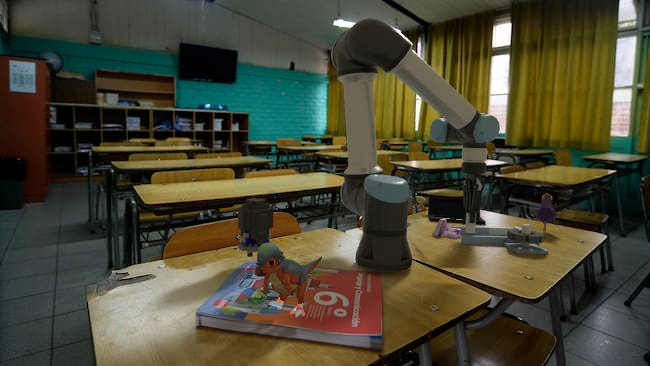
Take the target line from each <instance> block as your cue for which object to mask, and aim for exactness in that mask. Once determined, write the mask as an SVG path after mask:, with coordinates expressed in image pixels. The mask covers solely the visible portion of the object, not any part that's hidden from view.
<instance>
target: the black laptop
mask: <svg viewBox="0 0 650 366" xmlns="http://www.w3.org/2000/svg"><path fill="white" fill-rule="evenodd" d="M427 206H428V207H427V216H428V215H429V216H428V218H429V221H430V222H437V223H438V222H439V220H440V219H443V218H450V219H446V222H447V223H450V224H451V223H453V224H455V223H456V224H462V225H464V224H466V209H464V196H453V195H452V196H450V195H433V194H432V195H431V194H430V195H428V196H427ZM456 219H462V220H456ZM486 222H487V221H486V220H485V219H484V218H483V217H481V210H480V211H479V213H477V214H476V225H479V226H480V225H481V226H486V225H487V223H486Z"/></svg>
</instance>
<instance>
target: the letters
mask: <svg viewBox="0 0 650 366" xmlns="http://www.w3.org/2000/svg"><path fill="white" fill-rule="evenodd" d="M453 226H454V225H453V224H451V223H448V222H446V219H445V218H443V219H440V220H439V222H437V224H436V226H435V228H434V230H433V232H432V235H431V236H435V237H441V238H447V239H448V238H450V239H454V240H455V239H458V238H461V236H462V234H461V229H456V228H453Z"/></svg>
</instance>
